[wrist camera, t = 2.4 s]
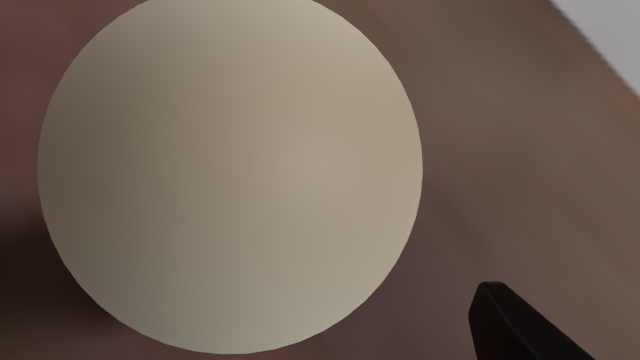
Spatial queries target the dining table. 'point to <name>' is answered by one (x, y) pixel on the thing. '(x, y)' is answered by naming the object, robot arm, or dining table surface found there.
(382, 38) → the dining table surface
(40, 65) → the dining table surface
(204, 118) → the peg
